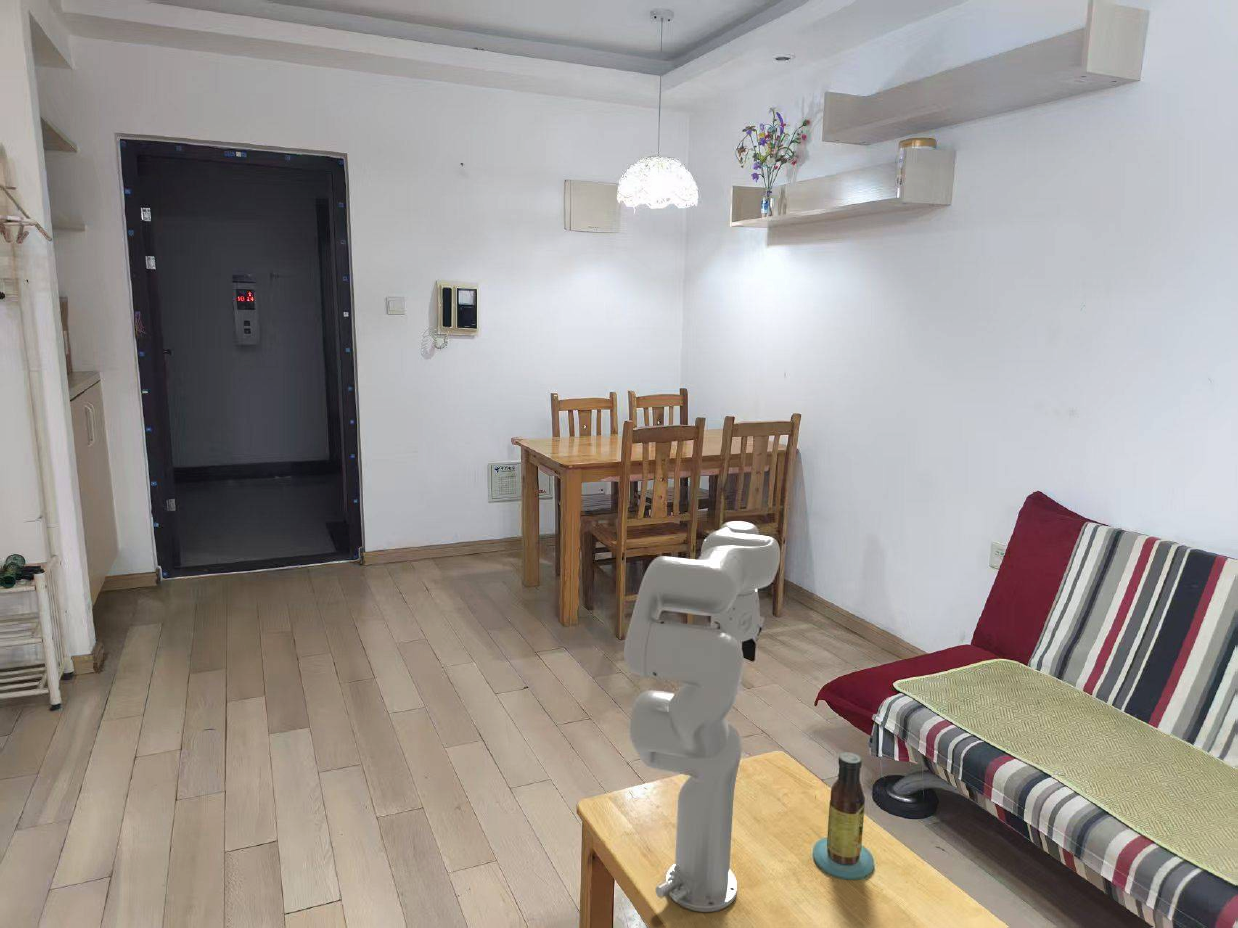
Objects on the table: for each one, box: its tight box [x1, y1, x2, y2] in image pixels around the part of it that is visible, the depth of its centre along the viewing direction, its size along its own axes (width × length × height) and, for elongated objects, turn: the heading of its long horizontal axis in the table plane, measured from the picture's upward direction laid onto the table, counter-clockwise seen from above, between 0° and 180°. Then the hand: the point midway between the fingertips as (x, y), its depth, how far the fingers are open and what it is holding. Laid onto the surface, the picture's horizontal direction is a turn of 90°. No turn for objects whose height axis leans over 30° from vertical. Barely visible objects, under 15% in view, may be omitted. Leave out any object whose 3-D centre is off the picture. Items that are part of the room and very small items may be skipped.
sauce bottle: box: [826, 751, 866, 865], centre depth 149 cm, size 6×6×20 cm
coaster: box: [812, 837, 875, 881], centre depth 151 cm, size 11×11×1 cm
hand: (731, 665), depth 162 cm, fingers open, 9 cm apart
